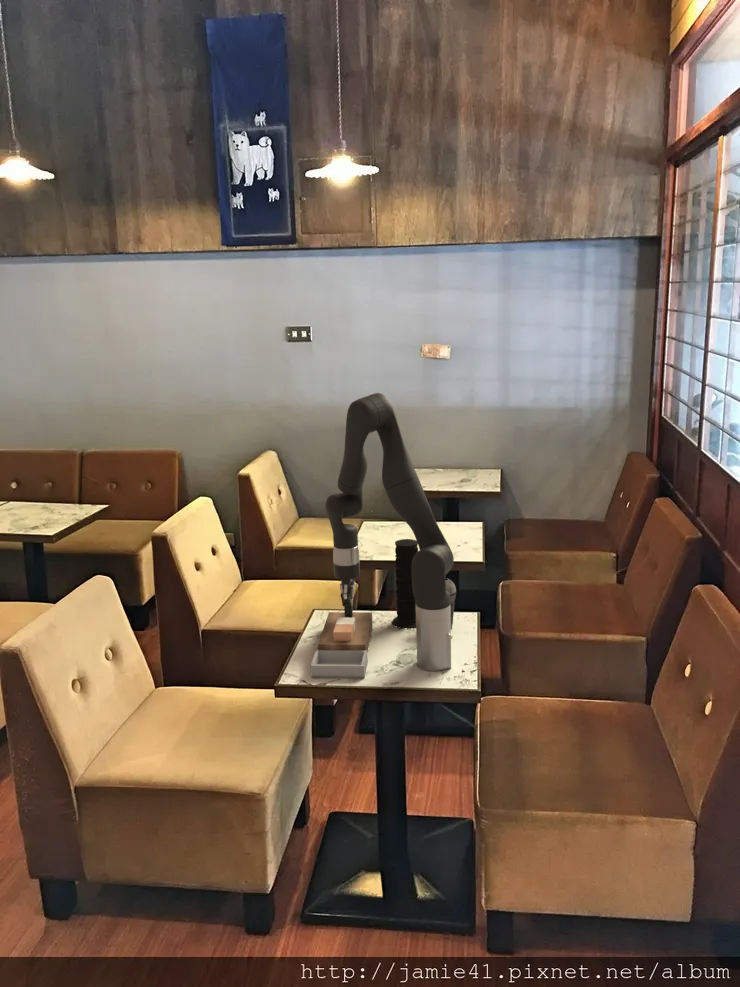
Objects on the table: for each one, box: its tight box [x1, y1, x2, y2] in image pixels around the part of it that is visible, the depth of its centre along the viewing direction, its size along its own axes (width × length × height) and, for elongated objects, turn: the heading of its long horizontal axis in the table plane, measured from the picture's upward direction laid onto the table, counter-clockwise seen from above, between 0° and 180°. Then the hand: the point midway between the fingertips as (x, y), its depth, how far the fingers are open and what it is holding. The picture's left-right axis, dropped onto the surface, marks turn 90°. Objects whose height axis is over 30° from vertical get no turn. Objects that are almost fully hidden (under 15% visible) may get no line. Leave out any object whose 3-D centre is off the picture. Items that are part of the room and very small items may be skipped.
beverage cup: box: [445, 577, 457, 631], centre depth 241 cm, size 7×7×20 cm
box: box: [310, 649, 368, 679], centre depth 218 cm, size 14×10×4 cm
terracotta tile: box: [333, 625, 354, 641], centre depth 227 cm, size 5×5×2 cm
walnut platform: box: [317, 611, 374, 653], centre depth 234 cm, size 13×23×5 cm, turn 175°
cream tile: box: [336, 617, 355, 633], centre depth 232 cm, size 5×5×2 cm
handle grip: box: [391, 538, 419, 630], centre depth 246 cm, size 10×26×10 cm
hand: (348, 616), depth 239 cm, fingers closed
